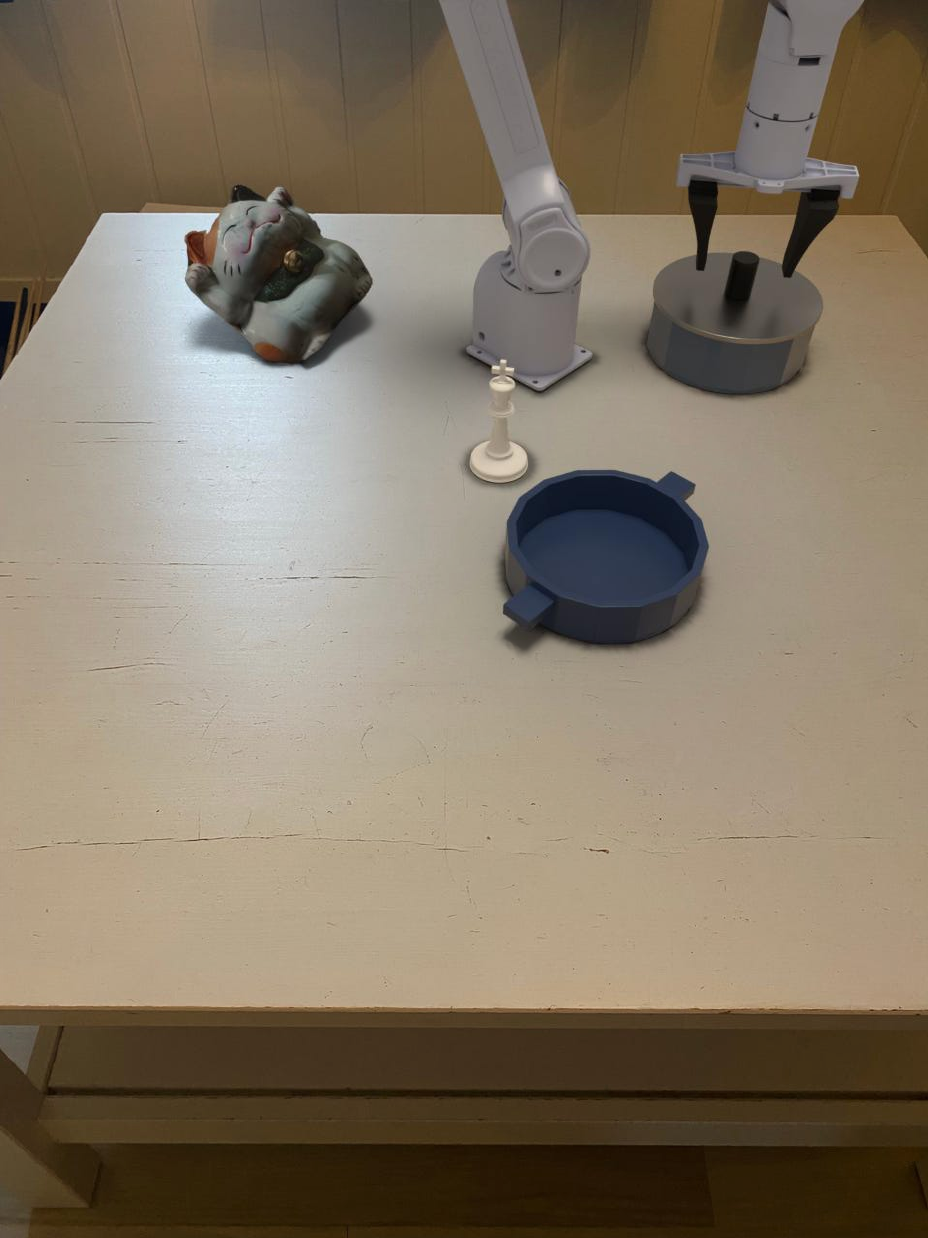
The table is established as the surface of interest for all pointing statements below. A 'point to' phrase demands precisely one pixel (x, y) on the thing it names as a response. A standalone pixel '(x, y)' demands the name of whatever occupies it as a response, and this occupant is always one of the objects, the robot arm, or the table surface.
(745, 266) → the lid
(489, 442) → the chess piece
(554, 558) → the pan
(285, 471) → the table surface
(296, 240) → the lucky cat figurine
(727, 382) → the pot
